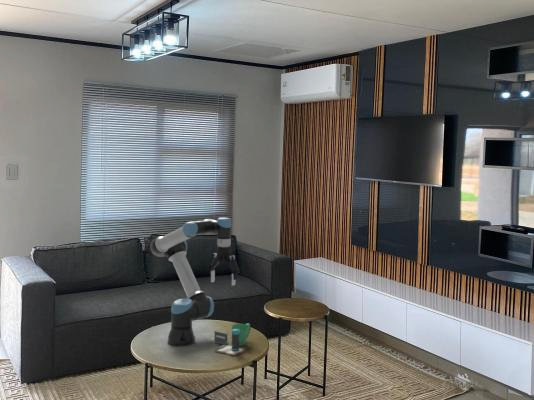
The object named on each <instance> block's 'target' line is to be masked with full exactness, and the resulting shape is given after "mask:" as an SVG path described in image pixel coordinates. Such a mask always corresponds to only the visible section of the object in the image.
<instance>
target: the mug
mask: <svg viewBox="0 0 534 400" xmlns="http://www.w3.org/2000/svg"><path fill="white" fill-rule="evenodd" d="M251 326H252V325H251V324H250V323H235V324H233V325H232V326H231V330H232V329H239V330H240V334H239V346H244V345H245V343H246V341H247V339H248V337H249V334H250V333H251V328H252V327H251Z"/></svg>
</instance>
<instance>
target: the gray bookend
mask: <svg viewBox="0 0 534 400" xmlns="http://www.w3.org/2000/svg"><path fill="white" fill-rule="evenodd" d="M212 343H216V344H219V345H229V344H230V343H229V341H228V333H226V332H223V331H217V330H215V331H214V340H213V342H212Z"/></svg>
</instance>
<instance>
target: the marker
mask: <svg viewBox="0 0 534 400" xmlns="http://www.w3.org/2000/svg"><path fill="white" fill-rule="evenodd" d="M239 334H240V330H239V329H232V328H231V346H232V351H239V348H240V345H239Z"/></svg>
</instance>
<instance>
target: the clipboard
mask: <svg viewBox="0 0 534 400" xmlns="http://www.w3.org/2000/svg"><path fill="white" fill-rule="evenodd" d="M246 351H247V349H246V348H242V347H239V351H232V345H229V344H227V345H224V344H222V345H221V346H218V348H217V349H216V350H214V352H215V353H219V354H223V355H226V356H231V357H236V358H237V356H239V355H241V354H242V353H244V352H246Z"/></svg>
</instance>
